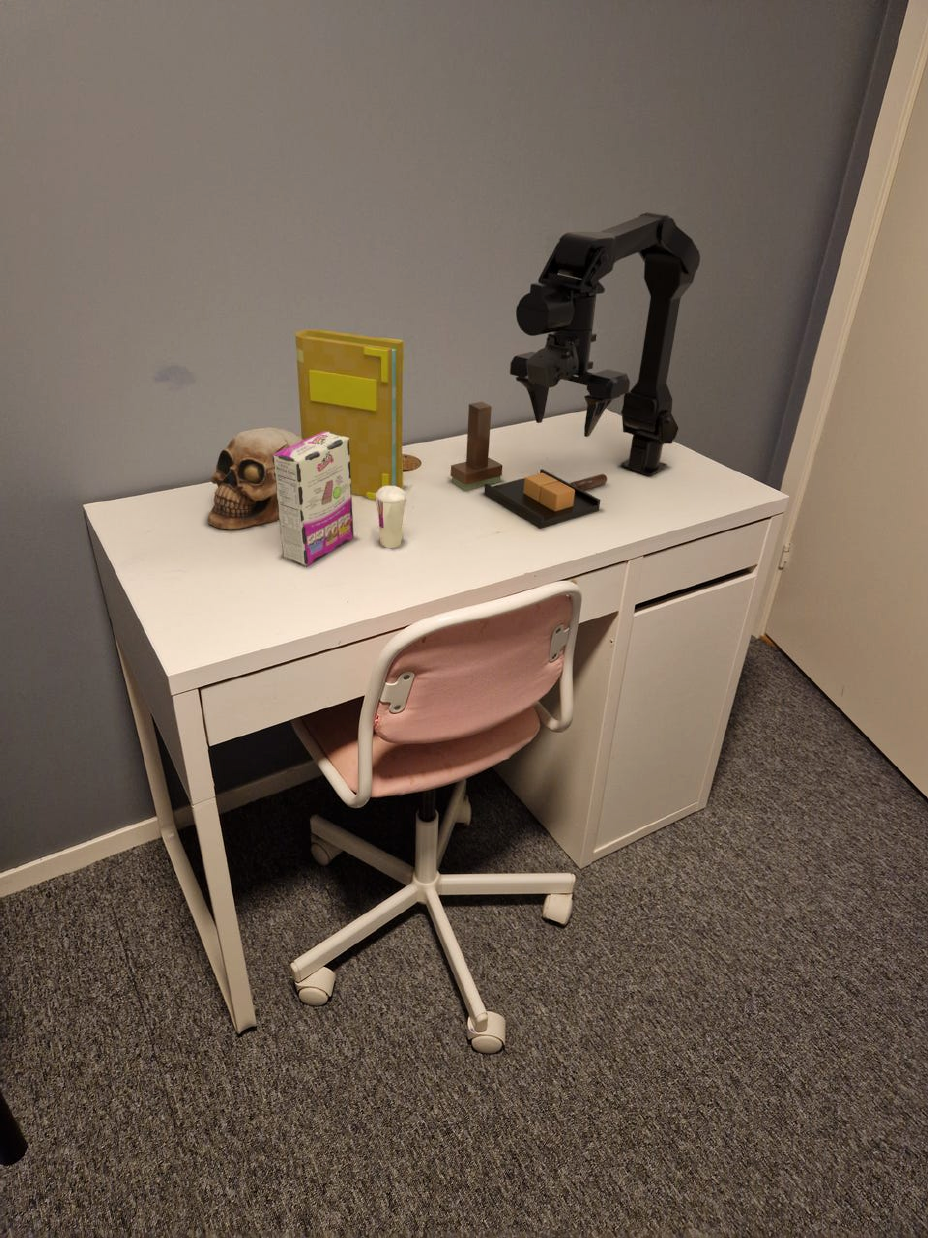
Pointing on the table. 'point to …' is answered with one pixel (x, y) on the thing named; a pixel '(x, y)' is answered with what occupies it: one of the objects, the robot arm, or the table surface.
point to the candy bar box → (314, 496)
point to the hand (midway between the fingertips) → (562, 429)
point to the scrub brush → (477, 452)
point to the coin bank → (248, 479)
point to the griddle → (539, 513)
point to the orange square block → (557, 496)
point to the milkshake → (391, 515)
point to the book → (355, 401)
